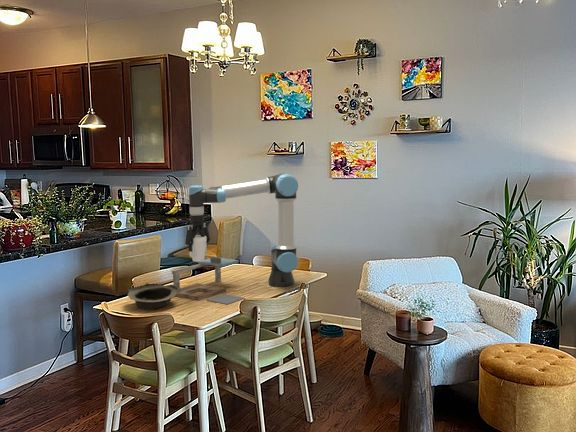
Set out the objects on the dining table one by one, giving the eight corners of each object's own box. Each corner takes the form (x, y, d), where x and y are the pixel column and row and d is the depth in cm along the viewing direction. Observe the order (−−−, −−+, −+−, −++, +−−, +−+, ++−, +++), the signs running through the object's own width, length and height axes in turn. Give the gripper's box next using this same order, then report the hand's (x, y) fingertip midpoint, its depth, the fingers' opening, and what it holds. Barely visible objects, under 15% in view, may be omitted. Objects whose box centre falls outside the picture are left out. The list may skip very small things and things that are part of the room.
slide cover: (238, 262, 315) (238, 255, 314) (222, 266, 303) (222, 259, 303) (214, 259, 325) (214, 252, 324) (198, 263, 313) (197, 255, 313)
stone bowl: (157, 296, 295) (157, 279, 293) (187, 307, 279) (188, 290, 278) (117, 305, 276) (117, 288, 274) (147, 318, 260) (148, 299, 259)
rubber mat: (244, 298, 289) (244, 297, 289) (227, 304, 277) (227, 303, 277) (224, 294, 296) (224, 294, 296) (207, 300, 285) (206, 299, 285)
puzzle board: (245, 285, 318) (244, 262, 316) (198, 300, 285) (197, 275, 284) (216, 280, 330) (216, 258, 328) (168, 295, 298) (168, 270, 296)
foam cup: (209, 258, 299) (208, 235, 298) (205, 262, 290) (204, 238, 289) (192, 258, 300) (191, 235, 299) (187, 262, 291) (186, 238, 290)
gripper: (205, 212, 303) (207, 251, 306) (176, 216, 285) (178, 258, 288) (215, 212, 299) (217, 253, 302) (187, 217, 281) (189, 259, 284)
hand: (198, 255), depth 295 cm, fingers closed on foam cup, 9 cm apart
